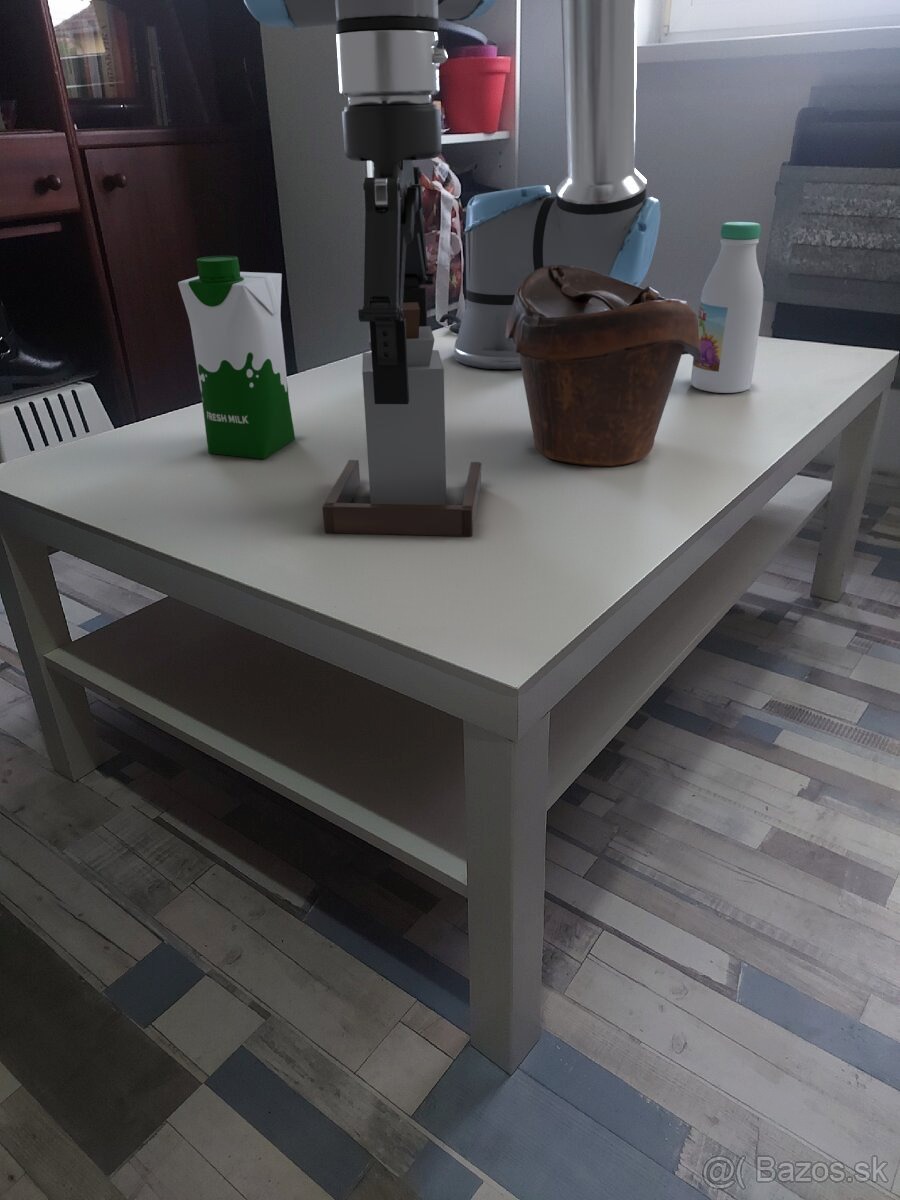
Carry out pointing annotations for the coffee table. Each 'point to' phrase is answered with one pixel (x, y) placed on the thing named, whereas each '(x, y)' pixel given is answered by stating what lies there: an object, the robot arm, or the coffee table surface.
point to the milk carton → (239, 357)
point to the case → (597, 362)
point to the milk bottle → (730, 313)
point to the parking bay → (399, 510)
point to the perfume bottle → (408, 426)
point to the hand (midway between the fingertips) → (403, 380)
